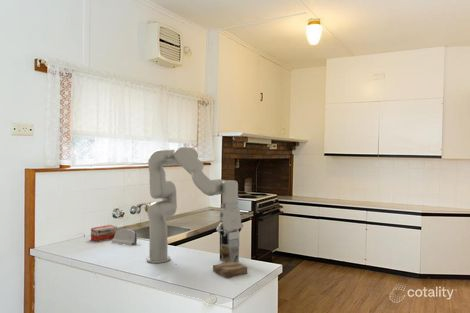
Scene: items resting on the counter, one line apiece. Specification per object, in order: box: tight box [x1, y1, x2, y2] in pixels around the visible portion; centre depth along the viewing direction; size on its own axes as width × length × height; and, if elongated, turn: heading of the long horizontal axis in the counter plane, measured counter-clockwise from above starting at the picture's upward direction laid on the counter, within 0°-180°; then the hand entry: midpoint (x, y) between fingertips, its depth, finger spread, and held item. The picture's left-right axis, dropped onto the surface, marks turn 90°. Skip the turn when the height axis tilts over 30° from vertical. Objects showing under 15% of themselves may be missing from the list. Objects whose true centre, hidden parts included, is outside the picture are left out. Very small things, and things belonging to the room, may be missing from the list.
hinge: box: [111, 228, 139, 246], centre depth 228 cm, size 17×5×10 cm, turn 67°
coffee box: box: [219, 233, 240, 263], centre depth 189 cm, size 9×6×16 cm
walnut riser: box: [212, 261, 248, 279], centre depth 171 cm, size 12×12×3 cm
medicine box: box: [90, 224, 118, 242], centre depth 239 cm, size 15×8×8 cm, turn 138°
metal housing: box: [220, 229, 240, 248], centre depth 171 cm, size 6×7×7 cm
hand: (230, 242), depth 171 cm, fingers closed on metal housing, 6 cm apart
